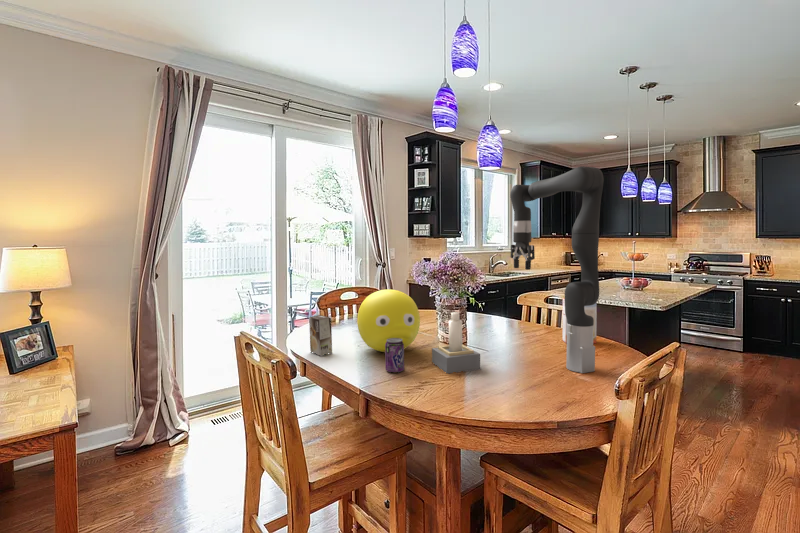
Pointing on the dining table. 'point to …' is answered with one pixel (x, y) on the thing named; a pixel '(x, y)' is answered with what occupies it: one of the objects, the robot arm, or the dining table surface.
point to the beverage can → (394, 355)
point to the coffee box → (320, 335)
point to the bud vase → (455, 333)
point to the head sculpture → (388, 318)
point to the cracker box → (589, 311)
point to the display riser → (455, 359)
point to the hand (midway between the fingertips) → (522, 268)
